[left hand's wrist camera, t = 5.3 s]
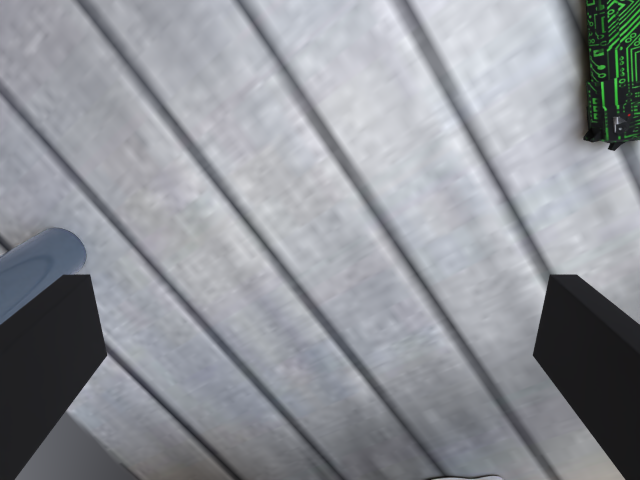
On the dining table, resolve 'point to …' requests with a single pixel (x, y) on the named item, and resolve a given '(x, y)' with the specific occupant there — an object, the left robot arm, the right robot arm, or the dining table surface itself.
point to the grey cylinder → (37, 267)
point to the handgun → (613, 71)
